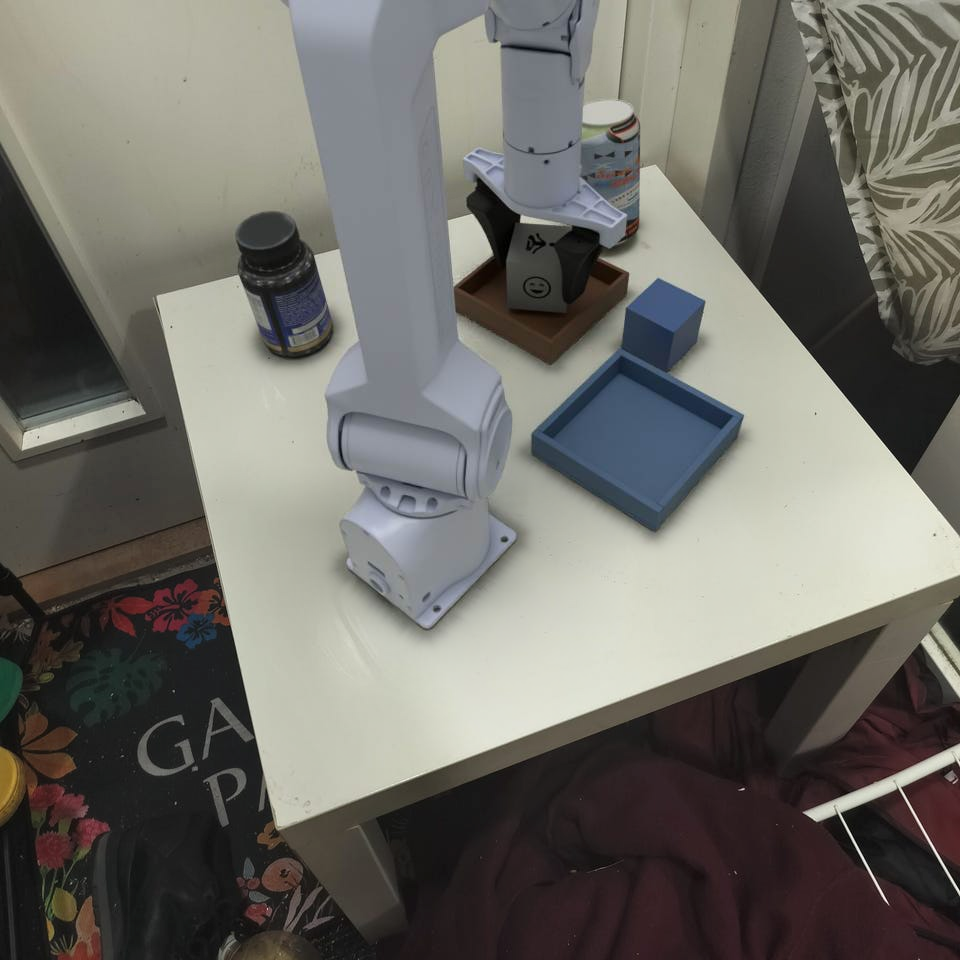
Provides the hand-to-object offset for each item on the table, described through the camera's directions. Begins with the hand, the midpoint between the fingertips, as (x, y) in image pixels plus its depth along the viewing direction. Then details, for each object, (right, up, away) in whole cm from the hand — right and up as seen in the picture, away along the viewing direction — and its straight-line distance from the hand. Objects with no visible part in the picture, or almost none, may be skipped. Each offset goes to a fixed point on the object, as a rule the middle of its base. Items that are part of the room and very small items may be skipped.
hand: (540, 279), depth 72 cm
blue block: (+10, -6, -2) cm, 11 cm away
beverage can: (+6, +6, +8) cm, 11 cm away
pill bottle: (-21, -5, +1) cm, 21 cm away
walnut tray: (0, -2, +2) cm, 3 cm away
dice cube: (0, -1, +1) cm, 2 cm away
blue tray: (+7, -14, -8) cm, 18 cm away
